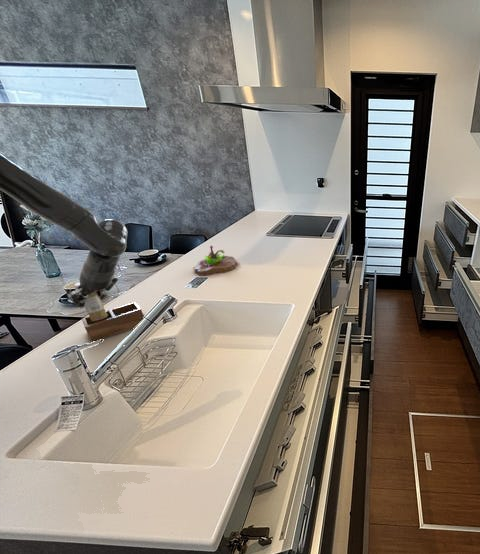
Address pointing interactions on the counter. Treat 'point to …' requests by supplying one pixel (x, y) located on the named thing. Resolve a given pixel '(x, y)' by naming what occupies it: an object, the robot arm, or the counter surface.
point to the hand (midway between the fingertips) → (88, 301)
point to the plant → (215, 264)
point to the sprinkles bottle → (94, 306)
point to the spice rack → (114, 321)
